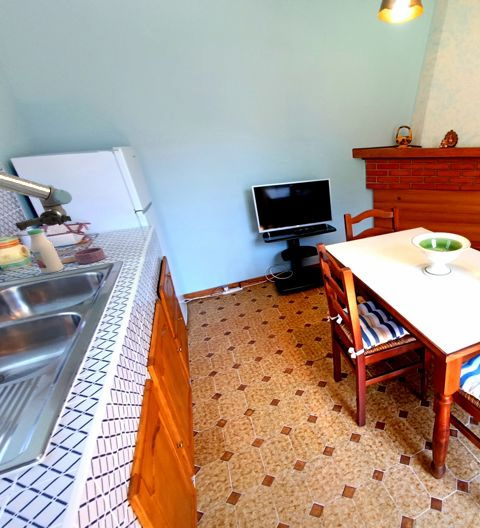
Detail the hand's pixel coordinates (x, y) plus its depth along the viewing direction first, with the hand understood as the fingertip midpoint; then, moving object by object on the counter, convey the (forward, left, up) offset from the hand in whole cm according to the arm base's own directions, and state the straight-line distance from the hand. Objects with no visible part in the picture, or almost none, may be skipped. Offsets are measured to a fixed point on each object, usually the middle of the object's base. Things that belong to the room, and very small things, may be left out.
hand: (39, 225), depth 142 cm
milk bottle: (-4, -9, -21) cm, 23 cm away
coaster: (+6, +2, -20) cm, 21 cm away
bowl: (+11, -9, -20) cm, 25 cm away
